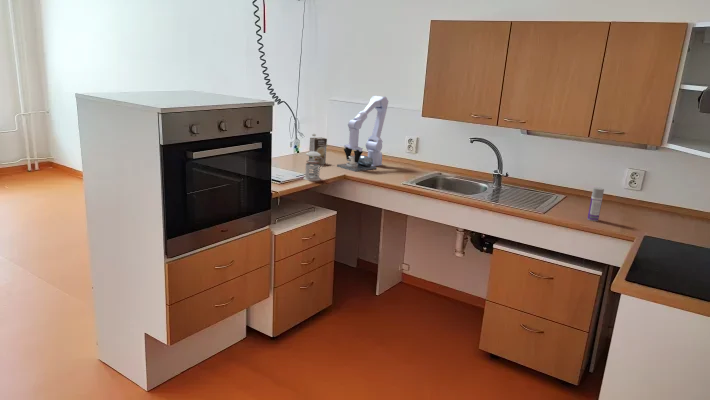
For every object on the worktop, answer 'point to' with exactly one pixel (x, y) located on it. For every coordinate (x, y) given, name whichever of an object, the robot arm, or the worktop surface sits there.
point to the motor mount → (359, 164)
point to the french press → (315, 168)
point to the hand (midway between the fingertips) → (352, 161)
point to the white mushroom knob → (351, 160)
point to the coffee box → (318, 149)
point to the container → (595, 204)
